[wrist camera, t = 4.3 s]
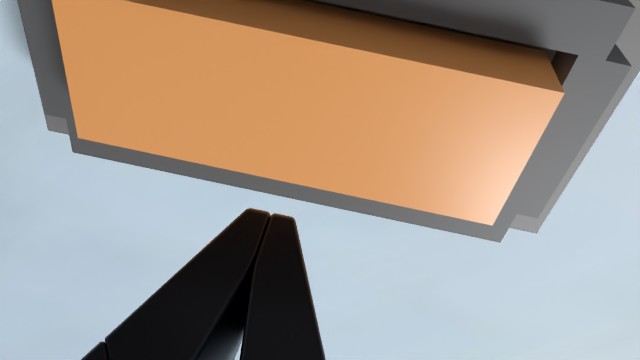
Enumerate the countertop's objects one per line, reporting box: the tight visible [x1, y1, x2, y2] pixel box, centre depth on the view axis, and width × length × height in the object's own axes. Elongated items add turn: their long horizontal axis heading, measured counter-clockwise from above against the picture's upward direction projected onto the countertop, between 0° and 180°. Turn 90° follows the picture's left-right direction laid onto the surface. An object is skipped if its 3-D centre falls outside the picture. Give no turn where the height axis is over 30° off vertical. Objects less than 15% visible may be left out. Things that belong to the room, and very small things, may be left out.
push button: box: [52, 0, 565, 226], centre depth 13 cm, size 11×4×2 cm, turn 81°
